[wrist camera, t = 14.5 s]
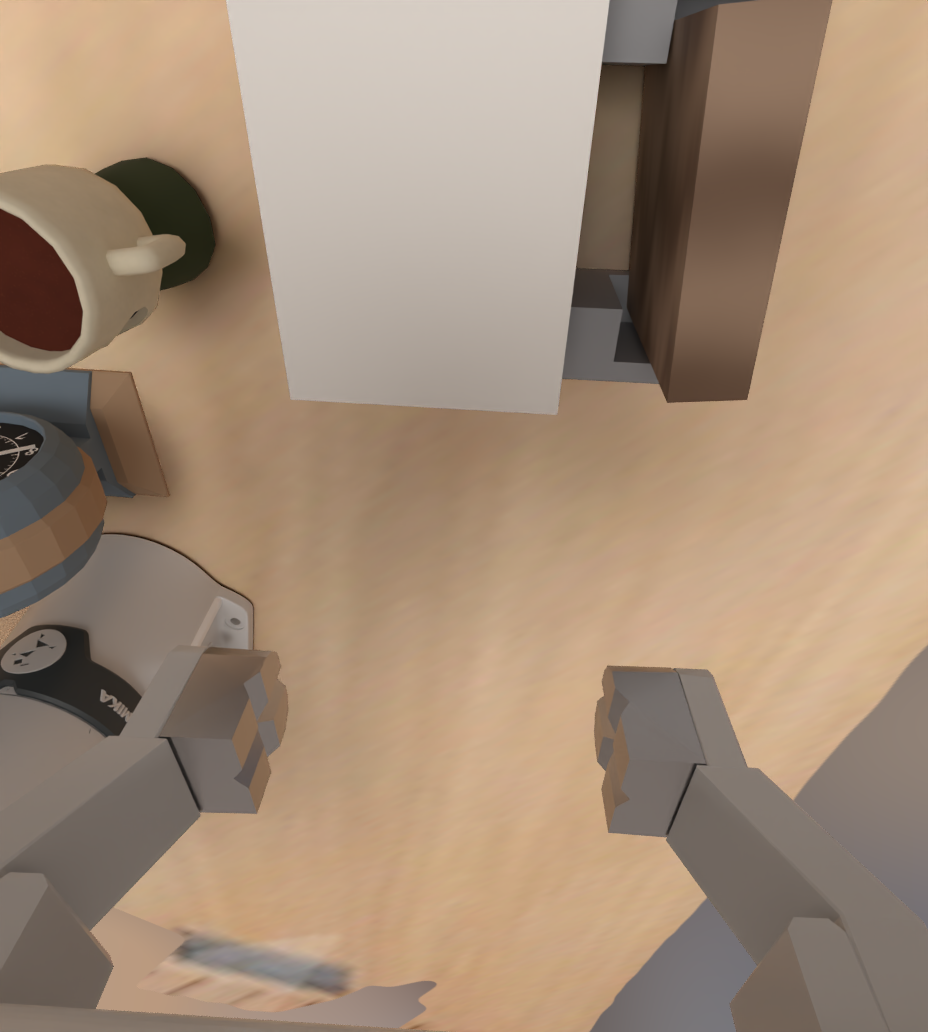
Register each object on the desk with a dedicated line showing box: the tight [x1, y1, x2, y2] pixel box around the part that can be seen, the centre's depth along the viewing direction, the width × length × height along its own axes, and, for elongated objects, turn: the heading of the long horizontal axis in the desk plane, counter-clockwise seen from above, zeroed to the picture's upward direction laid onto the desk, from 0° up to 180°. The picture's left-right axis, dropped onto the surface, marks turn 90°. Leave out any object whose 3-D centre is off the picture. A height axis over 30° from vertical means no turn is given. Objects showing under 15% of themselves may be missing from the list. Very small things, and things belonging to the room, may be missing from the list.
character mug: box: [0, 158, 215, 374], centre depth 28 cm, size 11×7×13 cm, turn 97°
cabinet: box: [226, 0, 756, 415], centre depth 26 cm, size 16×20×11 cm
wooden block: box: [626, 0, 832, 403], centre depth 25 cm, size 12×4×12 cm, turn 4°
